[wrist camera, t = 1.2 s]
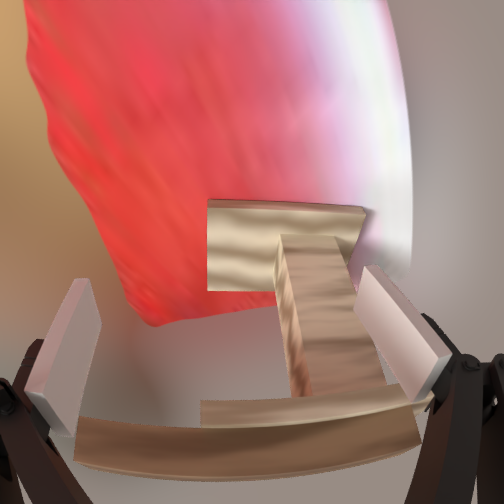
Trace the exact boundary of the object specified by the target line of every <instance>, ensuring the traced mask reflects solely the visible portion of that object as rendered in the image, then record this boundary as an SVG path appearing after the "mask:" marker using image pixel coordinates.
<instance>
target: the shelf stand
mask: <svg viewBox="0 0 504 504" xmlns="http://www.w3.org/2000/svg"><path fill="white" fill-rule="evenodd" d="M365 217H366V214H365V212H364V210H363V209H362V207H357V206H343V205H328V204H312V203H294V202H274V201H248V200H212V199H208V206H207V279H208V291H275V294H276V300H277V306H278V312H279V318H280V325H281V331H282V338H283V344H284V350H285V357H286V364H287V369H288V377H289V383H290V390H291V397H292V398H282V399H265V400H235V401H234V400H232V401H231V400H229V401H210V400H209V401H208V400H207V401H206V400H205V401H204V400H201V401H200V407H201V408H200V409H201V412H200V415H201V428H250V427H269V426H283V425H294V424H304V423H313V422H321V421H329V420H336V419H342V418H348V417H354V416H360V415H366V414H371V413H376V412H381V411H385V410H390V409H394V408H399V407H403V406H407V405H411V406H412V410H413V413H414V416H415V417H416V416H417V415H418V414H420V413H421V412H422V411H424V410H425V408H426V407H427V405H428V404H429V402H430V401H431V400H432V398H433V397H434V394H433V392H432V391H430V392H429V394H428V395H427V397H426V398H425V399H424V400H421V401H418V402H415V403H413V404H411V403H410V401H409V399H408V397H407V396H406V394H405V392H404V391H403V389H402V387H401V386H400V384H399V383H398V384H392V385H387V383H386V380H385V376H384V373H383V370H382V367H381V363H380V360H379V357H378V354H377V351H376V348H375V345H374V342H373V340H372V338H371V337H370V335H369V334H368V332H367V331H366V329H365V327H364V326H363V324H362V323H361V321H360V320H359V318H358V317H357V315H356V313H355V312H354V310H353V308H354V304H355V301H356V297H357V294H356V291H355V288H354V286H353V283H352V280H351V278H350V275H349V272H348V270H347V265H348V262H349V260H350V257H351V255H352V252H353V249H354V247H355V244H356V241H357V239H358V236H359V233H360V231H361V228H362V225H363V222H364V220H365Z"/></svg>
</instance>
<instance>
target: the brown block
mask: <svg viewBox="0 0 504 504" xmlns="http://www.w3.org/2000/svg"><path fill="white" fill-rule="evenodd" d="M420 444H422V442H421V438H420V434H419V431H418V427H417V423H416V420H415V416H414V413H413V410H412V406H411V405H407V406H403V407H399V408H394V409H390V410H385V411H381V412H376V413H371V414H366V415H360V416H354V417H348V418H342V419H336V420H329V421H321V422H313V423H304V424H294V425H283V426H269V427H250V428H183V427H166V426H152V425H141V424H131V423H123V422H115V421H107V420H101V419H94V418H88V417H82V416H79V419H78V426H77V434H76V441H75V450H74V459H73V460H74V461H75V462H77V463H79V464H81V465H83V466H86V467H88V468H90V469H93V470H98V471H103V472H109V473H115V474H121V475H128V476H135V477H143V478H152V479H163V480H177V481H201V482H205V481H206V482H225V481H226V482H227V481H255V480H269V479H280V478H289V477H296V476H305V475H312V474H318V473H324V472H330V471H336V470H340V469H345V468H350V467H355V466H360V465H364V464H368V463H372V462H376V461H379V460H383V459H387V458H391V457H394V456H398V455H401V454H403V453H405V452H407V451H409V450H411V449H412V448H414V447H416V446H418V445H420Z"/></svg>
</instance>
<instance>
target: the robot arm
mask: <svg viewBox="0 0 504 504" xmlns="http://www.w3.org/2000/svg"><path fill="white" fill-rule="evenodd" d="M353 310H354V312H355V313H356V315H357V317H358V318H359V320H360V321H361V323H362V324H363V326H364V327H365V329H366V331H367V332H368V334H369V335H370V337H371V338H372V340H373V342H374V343H375V345H376V346H377V348H378V350H379V351H380V353H381V354H382V356H383V358H384V359H385V361H386V362H387V364H388V366H389V367H390V369H391V371H392V372H393V374H394V375H395V377H396V379H397V381H398V382H399V384H400V386H401V387H402V389H403V391H404V392H405V394H406V396H407V397H408V399H409V401H410V403H411V404H413V403H415V402H418V401H421V400H424V399H425V398H426V397H427V395H428V394H429V392H430V391H432V392H433V394H434V397H433V398H432V400H431V401H430V402H429V404H428V405H427V407H426V408H425V412H427V410H428V409H429V408H430V411H429V416H428V421H427V426H426V430H425V434H424V439H423V443H422V447H421V451H420V455H419V458H418V462H417V465H416V469H415V472H414V476H413V479H412V482H411V485H410V488H409V491H408V494H407V497H406V500H405V503H404V504H471V501H472V495H473V491H474V485H475V479H476V476H477V499H478V504H504V354H497V355H495V357H494V358H493V360H492V362H490V363H480V361H479V360H478V359H477V358H475V357H474V356H472V355H469V354H461V353H460V352H459V350H458V349H457V348H456V347H455V345H454V344H453V343H452V342H451V341H450V339H449V338H448V337H447V336H446V334H444V332H443V331H442V330H441V328H439V326H438V325H437V324H436V322H435V321H434V320H433V319H432V318H430V317H429V316H427V315H426V314H424V313H423V314H420V313H419V312H418V311H417V309H416V308H415V307H414V306H413V305H412V304H411V303H410V301H409V300H408V299H407V298H406V297H405V296H404V295H403V293H402V292H401V291H400V290H399V289H398V288H397V287H396V285H395V284H394V283H393V282H392V281H391V280H390V279H389V278H388V276H387V275H386V274H385V273H384V272H383V271H382V270H381V269H380V268H379V267H378V265H366V266H364V268H363V273H362V277H361V281H360V285H359V289H358V293H357V297H356V301H355V304H354V308H353ZM101 327H102V322H101V319H100V315H99V312H98V309H97V305H96V302H95V298H94V294H93V290H92V287H91V283H90V279H89V278H85V279H84V278H83V279H82V278H81V279H75V280H74V281H73V283H72V285H71V287H70V289H69V291H68V293H67V295H66V297H65V298H64V301H63V302H62V304H61V306H60V308H59V311H58V312H57V315H56V317H55V319H54V321H53V323H52V325H51V327H50V329H49V331H48V334H47V336H46V338H45V339H36V340H35V341H34V342H33V343H32V344H31V346H30V347H29V348H28V350H27V352H26V354H25V359H23V361H22V363H21V367H20V368H19V370H18V373H17V375H16V377H15V380H14V382H13V385H12V386H11V385H10V383H9V382H8V380H6V379H4V378H0V504H24V501H23V497H22V493H21V489H20V486H19V481H18V477H19V478H20V481H21V483H22V484H23V487H24V489H25V491H26V492H27V494H28V496H29V498H30V500H31V502H32V503H33V504H93V503H92V501H91V500H90V499H89V497H88V496H87V495H86V493H85V492H84V490H83V489H82V488H81V486H80V485H79V483H78V482H77V480H76V479H75V477H74V476H73V474H72V473H71V471H70V470H69V468H68V467H67V465H66V463H65V462H64V460H63V458H62V457H61V455H60V453H59V452H58V450H57V448H56V447H55V445H54V443H53V442H52V440H51V438H50V437H49V436H48V434H49V430H50V428H51V429H52V430H53V431H54V433H55V434H56V435H59V436H65V437H72V438H74V433H75V428H76V423H77V418H78V414H79V409H80V405H81V401H82V396H83V392H84V388H85V383H86V380H87V376H88V372H89V369H90V365H91V361H92V357H93V354H94V350H95V347H96V344H97V340H98V337H99V333H100V330H101ZM495 398H497V401H498V403H497V405H495V403H494V399H495ZM16 472H17V473H16ZM17 474H18V477H17Z"/></svg>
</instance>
